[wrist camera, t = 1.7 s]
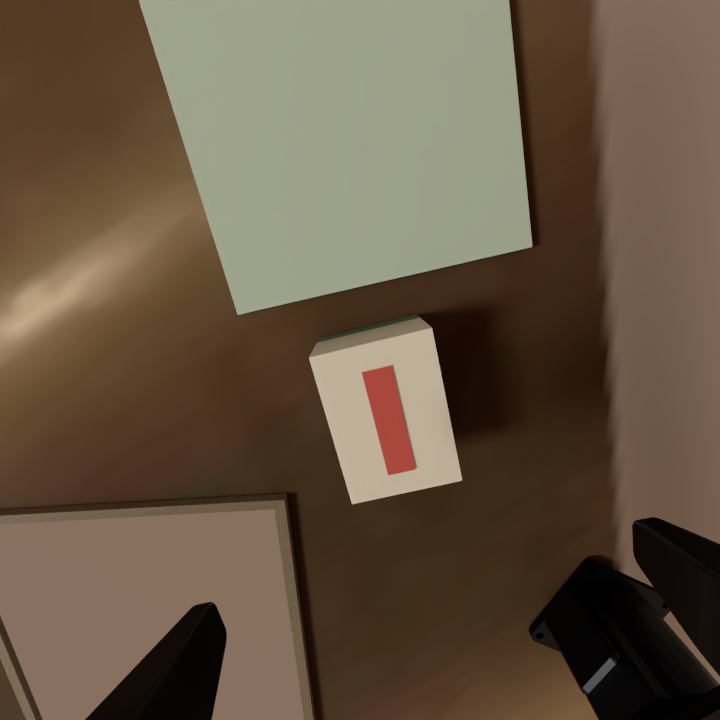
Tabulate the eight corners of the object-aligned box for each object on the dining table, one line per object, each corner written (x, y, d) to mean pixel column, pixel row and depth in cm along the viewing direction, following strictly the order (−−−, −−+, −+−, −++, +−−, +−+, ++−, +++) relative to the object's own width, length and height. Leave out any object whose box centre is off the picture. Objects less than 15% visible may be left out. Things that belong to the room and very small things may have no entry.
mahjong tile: (441, 437, 19) (462, 481, 15) (353, 457, 20) (352, 505, 16) (416, 314, 18) (432, 328, 14) (319, 337, 18) (308, 358, 14)
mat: (526, 247, 17) (532, 246, 16) (241, 313, 17) (237, 314, 17) (484, -173, 13) (490, -194, 12) (123, -68, 14) (112, -83, 13)
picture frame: (327, 801, 28) (287, 488, 20) (326, 821, 27) (284, 500, 19) (84, 813, 28) (-40, 507, 21) (74, 833, 27) (-60, 519, 20)
